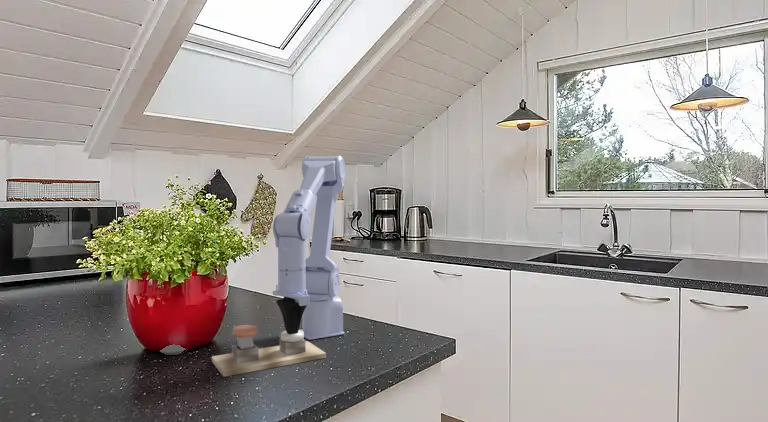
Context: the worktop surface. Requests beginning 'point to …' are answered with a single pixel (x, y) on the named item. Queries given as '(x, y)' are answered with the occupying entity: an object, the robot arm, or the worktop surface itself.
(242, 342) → the peach round domed part
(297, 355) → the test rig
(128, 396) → the worktop surface
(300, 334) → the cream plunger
